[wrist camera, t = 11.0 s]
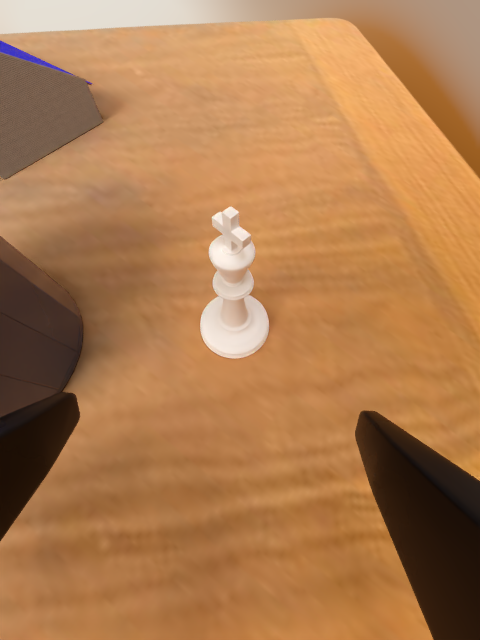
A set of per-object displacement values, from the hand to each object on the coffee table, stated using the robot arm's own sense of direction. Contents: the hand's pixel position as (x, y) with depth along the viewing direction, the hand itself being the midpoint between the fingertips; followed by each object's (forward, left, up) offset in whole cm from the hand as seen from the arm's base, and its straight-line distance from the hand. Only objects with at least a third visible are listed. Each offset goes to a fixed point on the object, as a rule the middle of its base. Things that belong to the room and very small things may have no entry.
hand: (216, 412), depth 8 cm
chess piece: (+6, -2, -8) cm, 10 cm away
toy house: (+39, +20, -8) cm, 44 cm away
